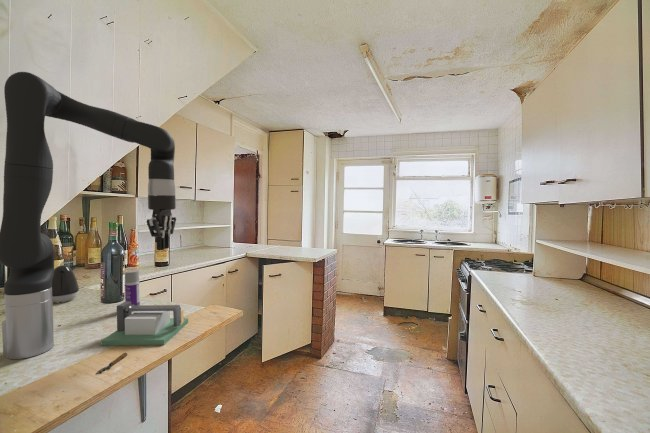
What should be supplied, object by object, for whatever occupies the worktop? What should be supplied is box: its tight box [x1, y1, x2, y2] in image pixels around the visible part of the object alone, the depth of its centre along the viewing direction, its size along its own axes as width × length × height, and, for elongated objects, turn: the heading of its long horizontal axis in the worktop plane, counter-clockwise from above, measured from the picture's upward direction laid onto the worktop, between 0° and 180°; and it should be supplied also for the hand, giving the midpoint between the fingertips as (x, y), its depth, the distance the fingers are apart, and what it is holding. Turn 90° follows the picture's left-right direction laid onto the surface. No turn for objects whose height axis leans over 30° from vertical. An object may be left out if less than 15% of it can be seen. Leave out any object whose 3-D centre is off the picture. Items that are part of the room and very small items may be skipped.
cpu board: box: [101, 301, 189, 346], centre depth 93 cm, size 18×16×10 cm
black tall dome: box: [52, 264, 80, 303], centre depth 122 cm, size 10×10×15 cm
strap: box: [124, 304, 182, 326], centre depth 93 cm, size 16×4×6 cm, turn 92°
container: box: [124, 269, 141, 305], centre depth 113 cm, size 5×5×15 cm
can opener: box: [95, 352, 128, 375], centre depth 75 cm, size 9×2×1 cm, turn 171°
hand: (162, 249), depth 92 cm, fingers closed
